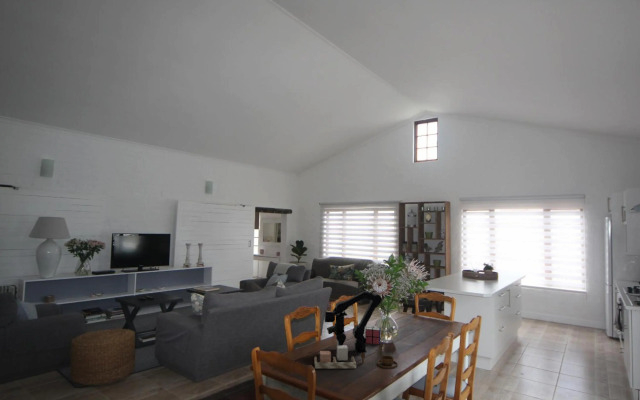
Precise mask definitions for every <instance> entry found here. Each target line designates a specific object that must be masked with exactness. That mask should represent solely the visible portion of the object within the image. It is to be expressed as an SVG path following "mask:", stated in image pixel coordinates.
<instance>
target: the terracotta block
mask: <svg viewBox="0 0 640 400" xmlns="http://www.w3.org/2000/svg"><path fill="white" fill-rule="evenodd" d="M319 363H332V353H331V351H330V350H320V351H319Z"/></svg>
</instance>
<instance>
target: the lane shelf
mask: <svg viewBox="0 0 640 400" xmlns="http://www.w3.org/2000/svg"><path fill="white" fill-rule="evenodd" d="M313 360H314V361H313V364H314V369H357V362H356V359H355V356H351V361H350V362H338V361H337V357H336V356H332V362H331V363H320V362H318V358H317V356H314V359H313Z"/></svg>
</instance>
